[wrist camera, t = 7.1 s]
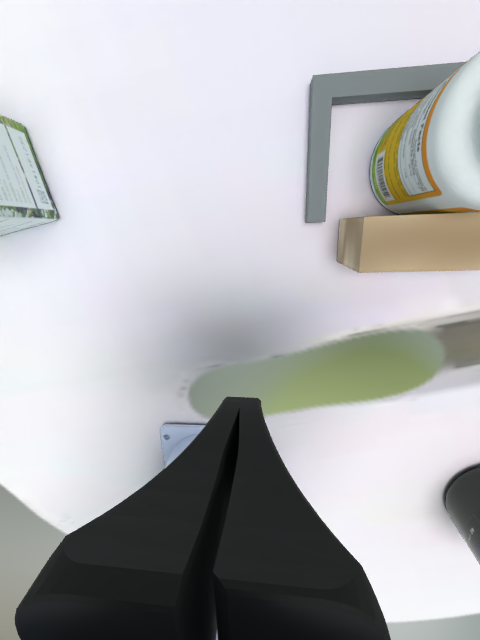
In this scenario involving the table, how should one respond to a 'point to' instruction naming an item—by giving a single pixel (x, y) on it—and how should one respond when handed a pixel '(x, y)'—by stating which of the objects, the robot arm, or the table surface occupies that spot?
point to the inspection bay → (356, 90)
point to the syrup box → (21, 182)
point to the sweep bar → (410, 242)
